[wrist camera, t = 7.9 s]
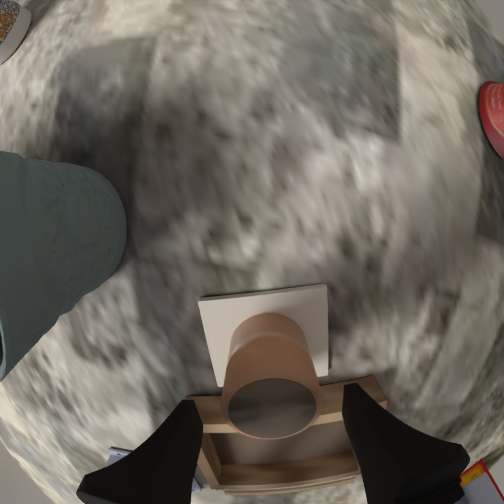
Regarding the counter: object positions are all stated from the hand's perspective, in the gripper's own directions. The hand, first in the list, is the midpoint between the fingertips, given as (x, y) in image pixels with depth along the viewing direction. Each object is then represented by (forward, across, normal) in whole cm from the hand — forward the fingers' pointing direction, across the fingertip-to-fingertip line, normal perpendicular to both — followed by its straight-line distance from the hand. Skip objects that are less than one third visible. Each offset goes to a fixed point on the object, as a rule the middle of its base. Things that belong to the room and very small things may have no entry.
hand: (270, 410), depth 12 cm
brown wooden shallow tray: (+7, -1, +10) cm, 12 cm away
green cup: (+7, +12, -10) cm, 17 cm away
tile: (+7, 0, 0) cm, 7 cm away
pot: (+6, 0, 0) cm, 6 cm away
